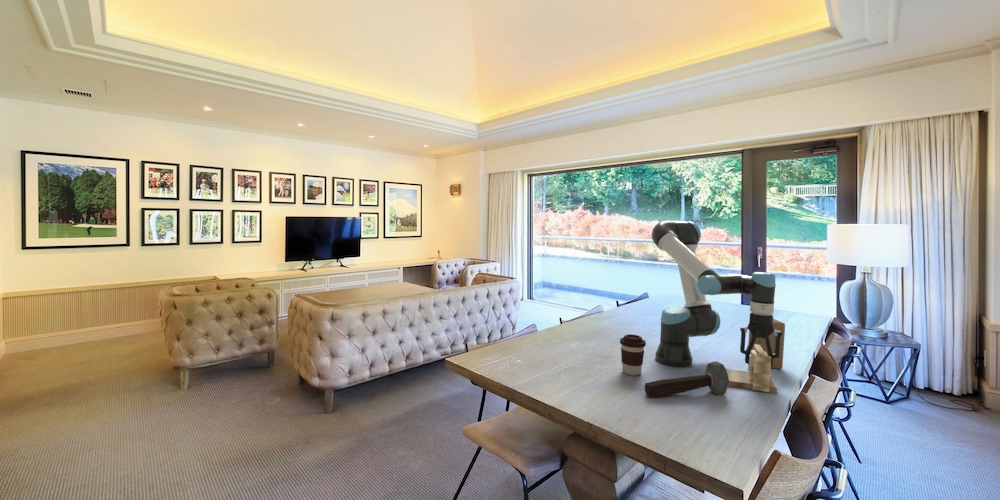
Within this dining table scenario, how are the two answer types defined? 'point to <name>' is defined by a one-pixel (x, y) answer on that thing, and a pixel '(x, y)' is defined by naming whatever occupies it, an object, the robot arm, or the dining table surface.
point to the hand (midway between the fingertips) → (757, 373)
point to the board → (745, 380)
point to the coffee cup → (632, 354)
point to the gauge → (760, 369)
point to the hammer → (691, 382)
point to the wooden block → (773, 343)
